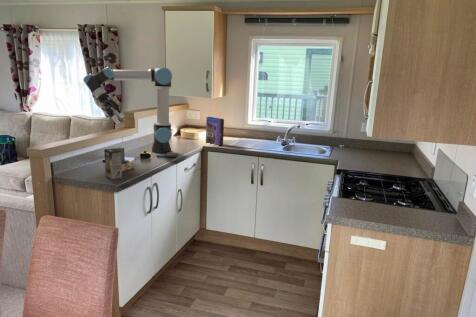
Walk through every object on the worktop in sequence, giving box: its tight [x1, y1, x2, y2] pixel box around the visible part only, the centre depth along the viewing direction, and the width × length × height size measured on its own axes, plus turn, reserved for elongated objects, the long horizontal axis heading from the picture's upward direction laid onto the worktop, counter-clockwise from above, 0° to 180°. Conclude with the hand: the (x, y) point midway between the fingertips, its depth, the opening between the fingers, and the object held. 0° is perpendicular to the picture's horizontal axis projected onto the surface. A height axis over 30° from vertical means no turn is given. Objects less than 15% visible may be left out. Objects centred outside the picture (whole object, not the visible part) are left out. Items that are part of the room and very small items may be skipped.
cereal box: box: [205, 116, 225, 146], centre depth 307 cm, size 17×5×24 cm, turn 48°
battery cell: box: [115, 146, 126, 165], centre depth 220 cm, size 6×6×13 cm
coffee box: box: [103, 147, 123, 180], centre depth 202 cm, size 9×6×16 cm
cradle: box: [121, 160, 134, 172], centre depth 221 cm, size 11×10×4 cm
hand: (120, 120), depth 238 cm, fingers open, 13 cm apart
